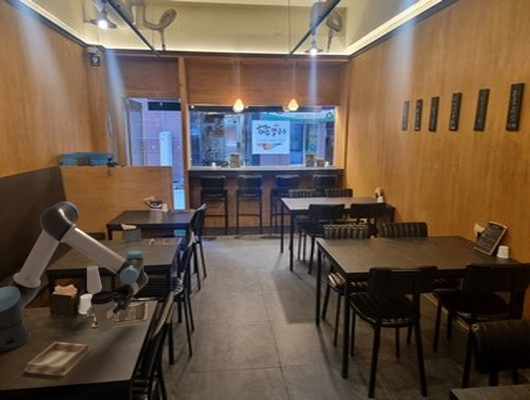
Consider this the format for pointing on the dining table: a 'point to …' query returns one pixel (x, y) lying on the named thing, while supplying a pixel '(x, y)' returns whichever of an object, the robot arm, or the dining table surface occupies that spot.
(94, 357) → the dining table surface
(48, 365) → the wooden tray
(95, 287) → the champagne flute
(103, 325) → the coffee cup
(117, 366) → the dining table surface
